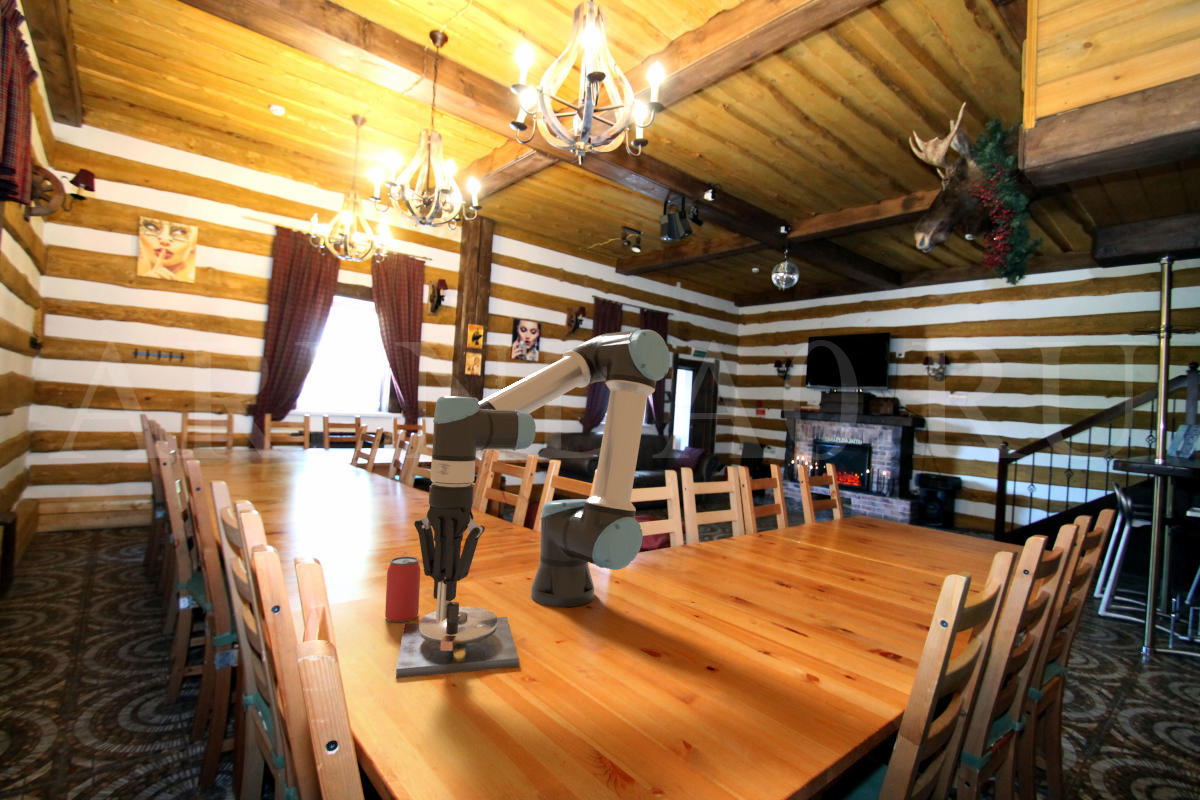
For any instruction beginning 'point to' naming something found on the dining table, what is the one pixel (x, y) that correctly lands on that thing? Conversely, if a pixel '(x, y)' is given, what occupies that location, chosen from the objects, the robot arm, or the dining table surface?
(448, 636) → the silver disc with handle
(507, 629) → the base plate
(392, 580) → the beer can
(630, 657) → the dining table surface
